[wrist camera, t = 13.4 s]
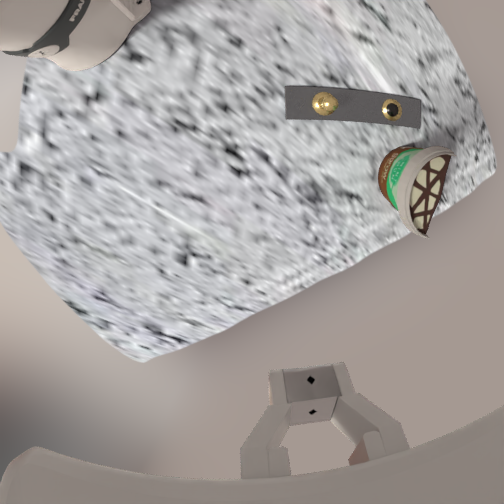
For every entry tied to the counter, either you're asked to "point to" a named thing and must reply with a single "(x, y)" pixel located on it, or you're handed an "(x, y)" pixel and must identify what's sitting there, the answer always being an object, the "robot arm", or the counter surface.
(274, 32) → the counter surface
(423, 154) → the food container
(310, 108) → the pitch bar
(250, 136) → the counter surface
